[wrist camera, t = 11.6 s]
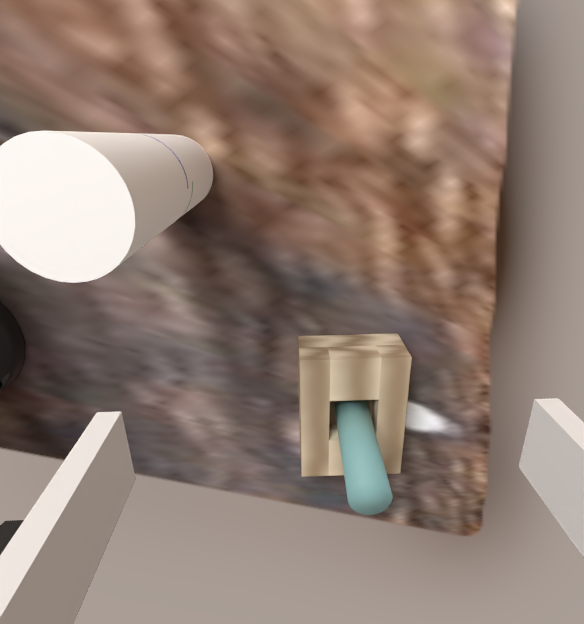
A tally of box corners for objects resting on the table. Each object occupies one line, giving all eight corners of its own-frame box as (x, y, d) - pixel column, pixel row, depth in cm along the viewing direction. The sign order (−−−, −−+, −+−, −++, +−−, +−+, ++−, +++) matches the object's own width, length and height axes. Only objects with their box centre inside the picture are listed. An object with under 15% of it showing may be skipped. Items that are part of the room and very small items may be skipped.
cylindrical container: (203, 128, 42) (105, 116, 19) (220, 200, 45) (154, 268, 21) (133, 142, 42) (-48, 147, 19) (155, 213, 45) (20, 293, 22)
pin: (334, 420, 52) (347, 515, 39) (334, 392, 50) (348, 482, 37) (367, 419, 52) (391, 514, 39) (367, 391, 50) (393, 480, 37)
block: (299, 443, 57) (301, 476, 51) (297, 336, 51) (299, 360, 45) (388, 440, 57) (400, 473, 51) (397, 333, 51) (411, 357, 45)
